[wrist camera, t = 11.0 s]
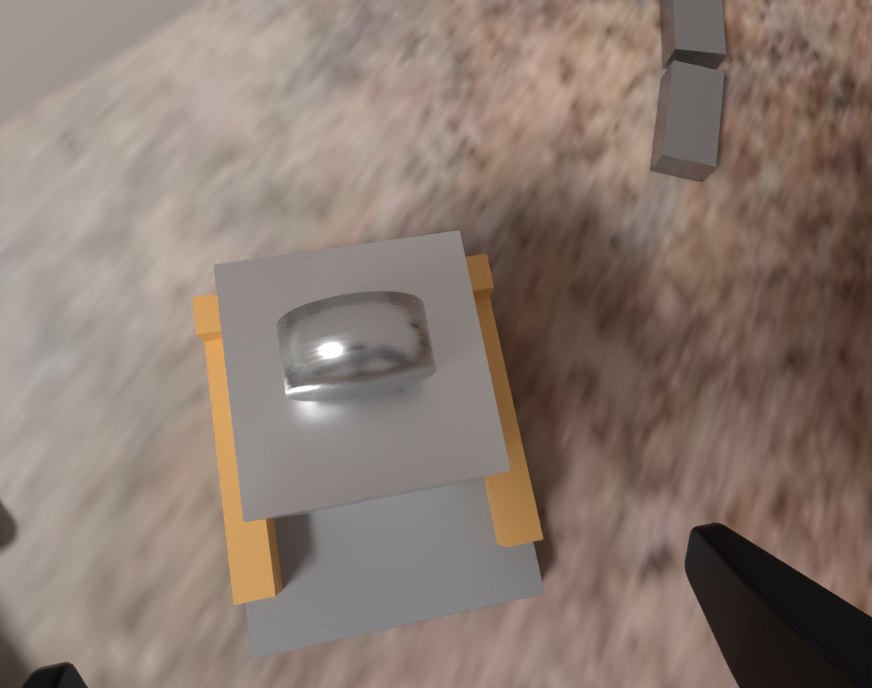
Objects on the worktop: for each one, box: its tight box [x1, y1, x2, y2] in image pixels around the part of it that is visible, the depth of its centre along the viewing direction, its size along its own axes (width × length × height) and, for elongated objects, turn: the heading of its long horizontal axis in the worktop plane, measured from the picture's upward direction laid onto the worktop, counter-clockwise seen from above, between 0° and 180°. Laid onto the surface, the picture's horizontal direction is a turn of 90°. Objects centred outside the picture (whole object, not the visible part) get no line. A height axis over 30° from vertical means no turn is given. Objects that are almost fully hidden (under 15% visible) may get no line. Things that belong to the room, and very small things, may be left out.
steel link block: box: [214, 230, 511, 522], centre depth 16 cm, size 5×5×12 cm
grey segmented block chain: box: [650, 0, 726, 182], centre depth 28 cm, size 15×3×1 cm, turn 169°
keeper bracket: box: [192, 253, 545, 659], centre depth 20 cm, size 11×9×5 cm
